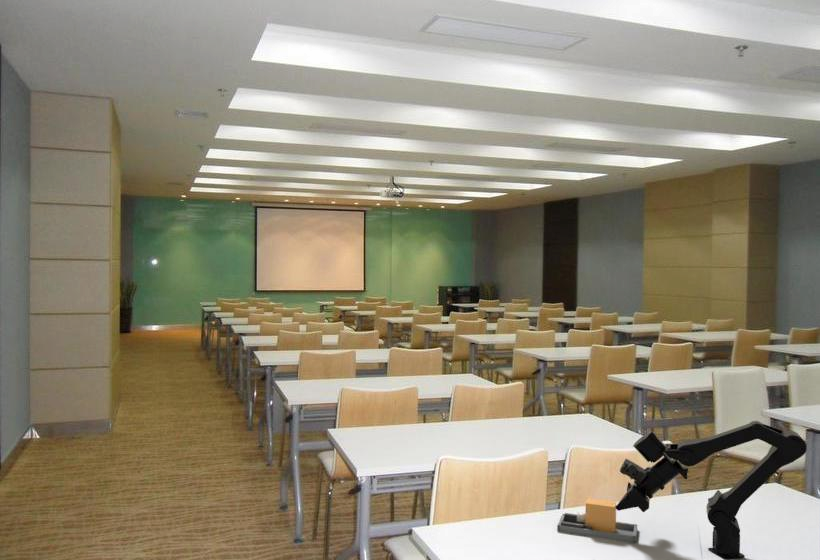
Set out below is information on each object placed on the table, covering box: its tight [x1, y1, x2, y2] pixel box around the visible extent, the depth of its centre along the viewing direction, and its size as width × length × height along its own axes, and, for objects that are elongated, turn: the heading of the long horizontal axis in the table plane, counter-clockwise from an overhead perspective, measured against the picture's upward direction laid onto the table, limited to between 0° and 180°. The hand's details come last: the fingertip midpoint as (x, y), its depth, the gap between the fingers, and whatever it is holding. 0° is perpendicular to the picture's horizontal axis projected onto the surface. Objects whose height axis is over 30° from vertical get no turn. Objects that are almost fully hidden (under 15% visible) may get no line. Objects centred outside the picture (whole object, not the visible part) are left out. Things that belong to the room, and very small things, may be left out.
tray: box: [556, 512, 638, 544], centre depth 188 cm, size 21×10×3 cm, turn 69°
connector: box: [576, 497, 617, 533], centre depth 188 cm, size 10×4×8 cm, turn 69°
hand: (616, 508), depth 186 cm, fingers closed
